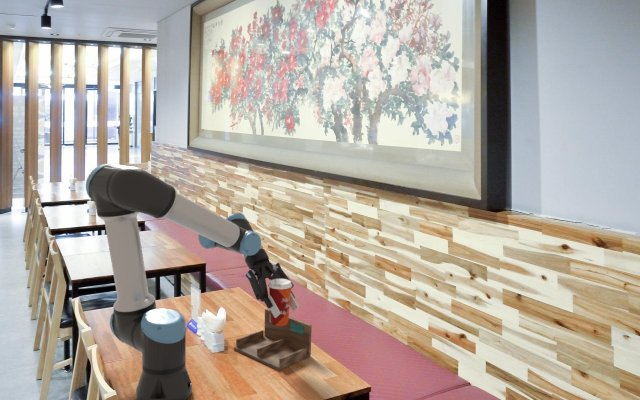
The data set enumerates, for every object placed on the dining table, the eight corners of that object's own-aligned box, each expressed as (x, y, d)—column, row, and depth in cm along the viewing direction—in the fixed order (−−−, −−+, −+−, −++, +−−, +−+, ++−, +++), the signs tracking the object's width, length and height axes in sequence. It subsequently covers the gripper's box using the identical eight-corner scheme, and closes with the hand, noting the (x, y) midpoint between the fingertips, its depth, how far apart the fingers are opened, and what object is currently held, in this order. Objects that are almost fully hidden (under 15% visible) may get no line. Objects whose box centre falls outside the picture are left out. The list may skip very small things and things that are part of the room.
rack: (278, 370, 166) (279, 337, 164) (233, 349, 180) (234, 318, 178) (310, 356, 177) (311, 324, 175) (266, 337, 191) (266, 308, 190)
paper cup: (287, 328, 167) (288, 286, 165) (264, 326, 169) (265, 283, 167) (293, 319, 175) (294, 279, 173) (271, 317, 177) (272, 277, 175)
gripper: (270, 255, 187) (303, 310, 179) (224, 265, 172) (257, 326, 164) (281, 242, 183) (315, 298, 175) (235, 252, 168) (269, 314, 159)
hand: (287, 312), depth 169 cm, fingers closed on paper cup, 8 cm apart
